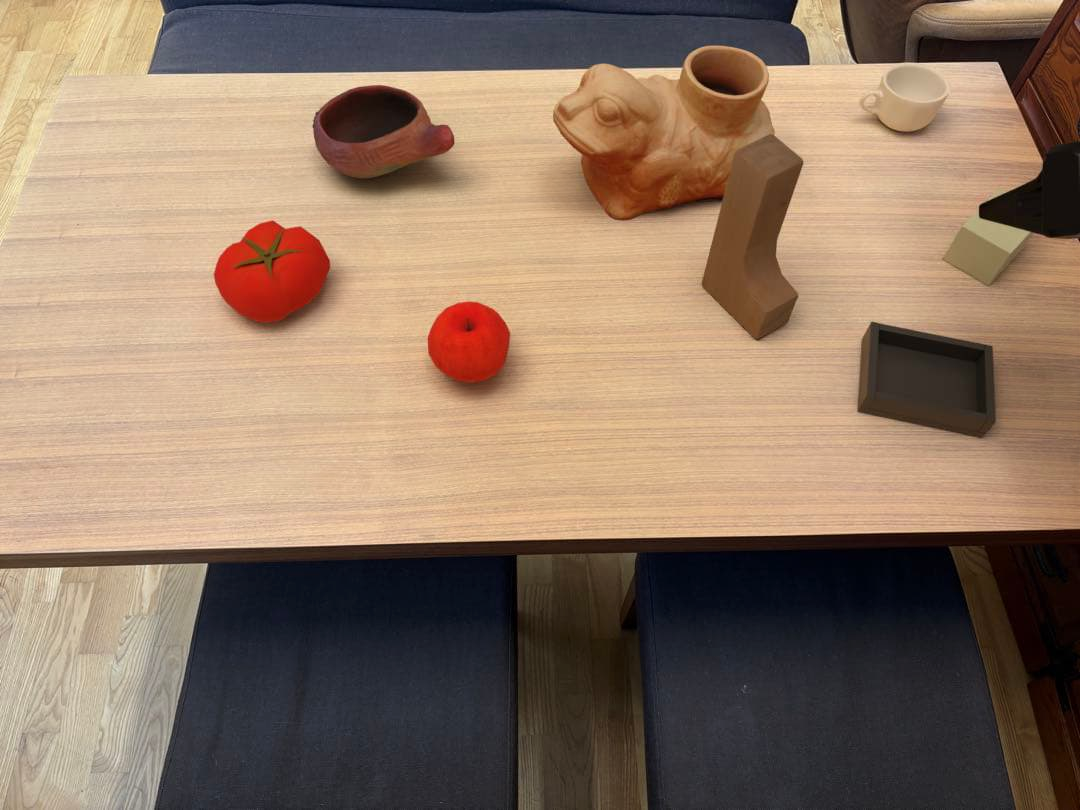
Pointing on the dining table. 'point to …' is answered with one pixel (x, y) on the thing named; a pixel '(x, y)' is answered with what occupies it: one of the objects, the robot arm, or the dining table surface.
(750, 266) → the wooden block
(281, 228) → the tomato
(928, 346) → the mount
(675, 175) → the ceramic vessel
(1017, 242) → the olive green block
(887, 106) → the teacup
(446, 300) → the dining table surface
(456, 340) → the apple
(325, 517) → the dining table surface
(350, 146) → the bowl
